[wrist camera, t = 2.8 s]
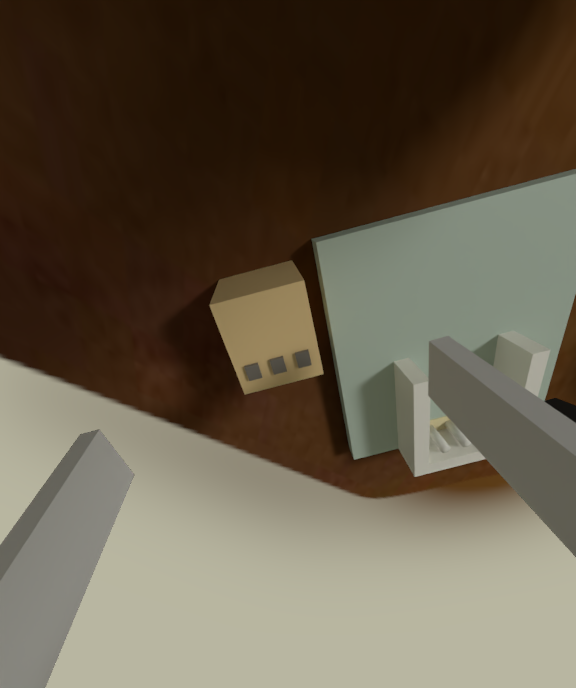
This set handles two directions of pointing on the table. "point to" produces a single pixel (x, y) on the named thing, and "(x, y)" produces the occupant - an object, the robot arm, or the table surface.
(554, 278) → the board
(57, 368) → the table surface
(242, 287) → the plug
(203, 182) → the table surface
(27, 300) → the table surface
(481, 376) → the robot arm
